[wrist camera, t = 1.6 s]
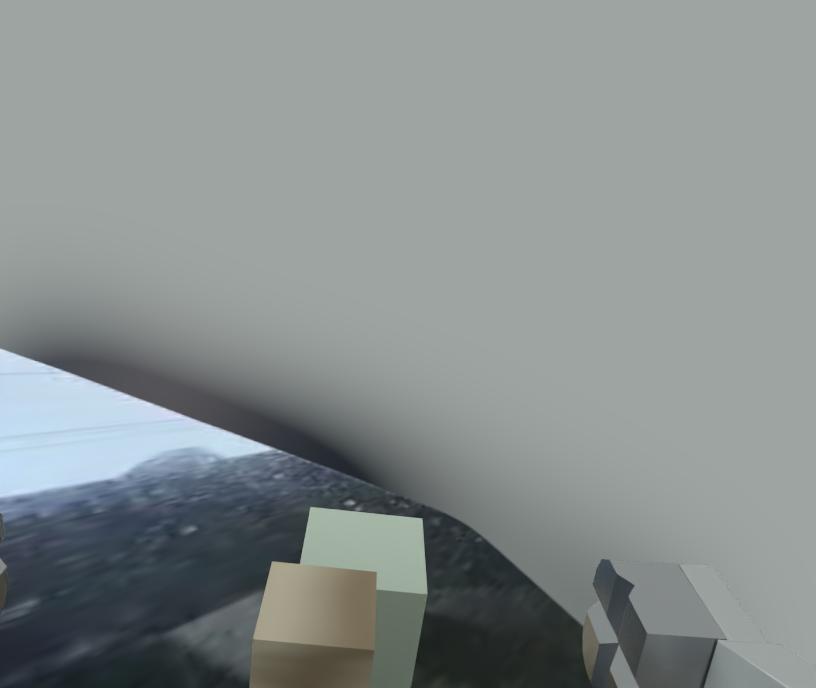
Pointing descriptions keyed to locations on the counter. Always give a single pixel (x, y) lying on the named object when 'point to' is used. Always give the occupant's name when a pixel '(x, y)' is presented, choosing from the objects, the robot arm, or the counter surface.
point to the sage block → (378, 579)
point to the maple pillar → (315, 628)
